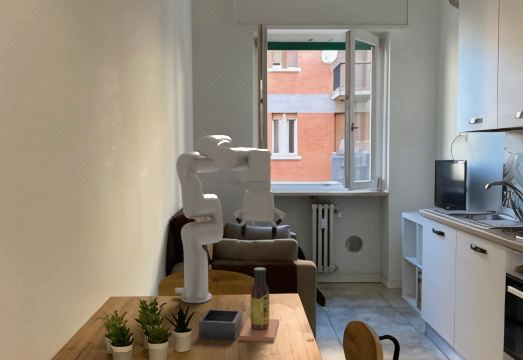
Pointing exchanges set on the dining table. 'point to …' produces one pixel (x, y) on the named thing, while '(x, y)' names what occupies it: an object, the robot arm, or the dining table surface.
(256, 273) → the sauce bottle
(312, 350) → the dining table surface
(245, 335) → the plate
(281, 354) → the dining table surface
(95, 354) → the dining table surface
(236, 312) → the bottle holder
